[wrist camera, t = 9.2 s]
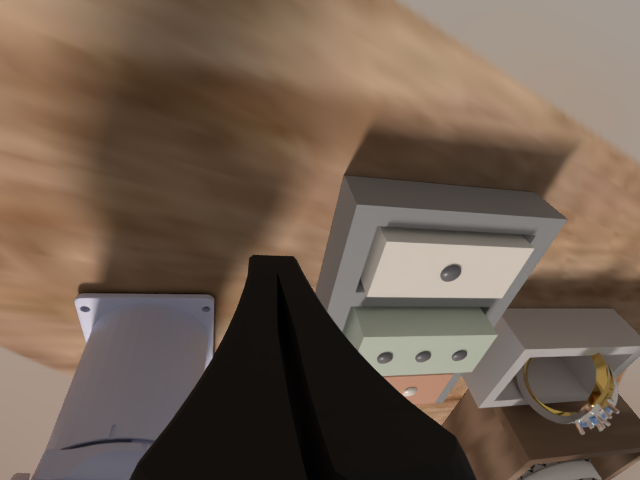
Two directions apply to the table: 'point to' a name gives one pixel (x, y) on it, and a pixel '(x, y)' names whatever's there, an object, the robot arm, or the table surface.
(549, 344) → the bracelet dish
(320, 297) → the button board
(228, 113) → the table surface
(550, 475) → the decorative candle
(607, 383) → the ring
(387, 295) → the tile one cream
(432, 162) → the table surface
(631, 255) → the table surface
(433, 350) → the tile three sage
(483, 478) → the box
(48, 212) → the table surface
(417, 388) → the tile two terracotta
